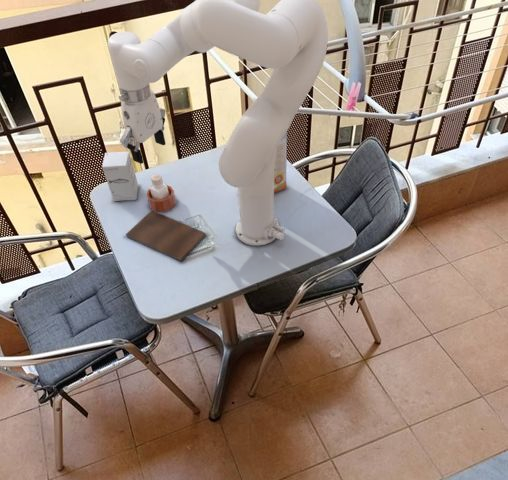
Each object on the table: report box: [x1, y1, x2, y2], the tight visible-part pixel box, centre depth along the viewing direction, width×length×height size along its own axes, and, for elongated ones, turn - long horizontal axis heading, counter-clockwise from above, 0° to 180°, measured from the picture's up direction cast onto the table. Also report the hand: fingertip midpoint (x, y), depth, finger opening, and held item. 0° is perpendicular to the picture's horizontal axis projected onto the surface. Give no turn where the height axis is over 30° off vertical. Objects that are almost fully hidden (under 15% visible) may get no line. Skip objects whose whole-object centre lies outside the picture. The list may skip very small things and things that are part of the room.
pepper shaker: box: [149, 173, 169, 200], centre depth 139 cm, size 4×4×10 cm
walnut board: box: [125, 210, 207, 262], centre depth 134 cm, size 20×12×1 cm, turn 58°
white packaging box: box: [101, 150, 139, 202], centre depth 141 cm, size 7×7×13 cm
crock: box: [146, 184, 177, 213], centre depth 141 cm, size 8×8×4 cm
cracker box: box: [274, 131, 288, 194], centre depth 136 cm, size 14×6×21 cm, turn 118°
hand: (149, 152), depth 129 cm, fingers open, 9 cm apart
